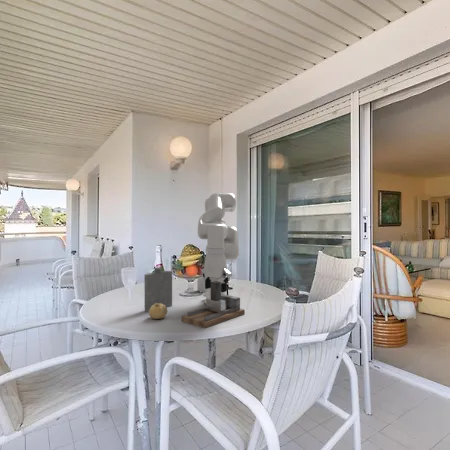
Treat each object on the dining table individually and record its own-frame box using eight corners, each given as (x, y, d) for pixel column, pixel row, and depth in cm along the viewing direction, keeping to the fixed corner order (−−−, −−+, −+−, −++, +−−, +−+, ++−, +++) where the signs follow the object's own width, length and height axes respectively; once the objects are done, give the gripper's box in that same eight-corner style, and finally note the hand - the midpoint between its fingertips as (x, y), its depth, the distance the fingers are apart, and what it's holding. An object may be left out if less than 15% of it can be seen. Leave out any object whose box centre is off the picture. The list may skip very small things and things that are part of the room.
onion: (147, 316, 143) (147, 301, 143) (164, 314, 147) (164, 299, 147) (150, 321, 136) (150, 305, 136) (169, 319, 139) (169, 303, 139)
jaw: (206, 309, 145) (206, 281, 145) (211, 307, 147) (211, 280, 147) (220, 312, 139) (220, 283, 139) (225, 311, 141) (225, 282, 141)
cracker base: (181, 320, 137) (181, 303, 137) (221, 308, 157) (221, 293, 157) (204, 328, 128) (204, 309, 128) (244, 313, 148) (244, 297, 148)
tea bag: (203, 292, 193) (203, 275, 193) (197, 290, 198) (197, 274, 198) (208, 291, 195) (208, 275, 195) (202, 289, 200) (202, 273, 200)
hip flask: (147, 312, 150) (147, 269, 150) (142, 310, 153) (142, 269, 153) (173, 305, 162) (173, 266, 162) (168, 304, 165) (168, 265, 165)
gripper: (196, 251, 146) (196, 288, 146) (224, 254, 135) (224, 294, 135) (207, 249, 152) (207, 285, 152) (236, 252, 140) (236, 291, 141)
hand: (215, 290), depth 144 cm, fingers open, 9 cm apart
